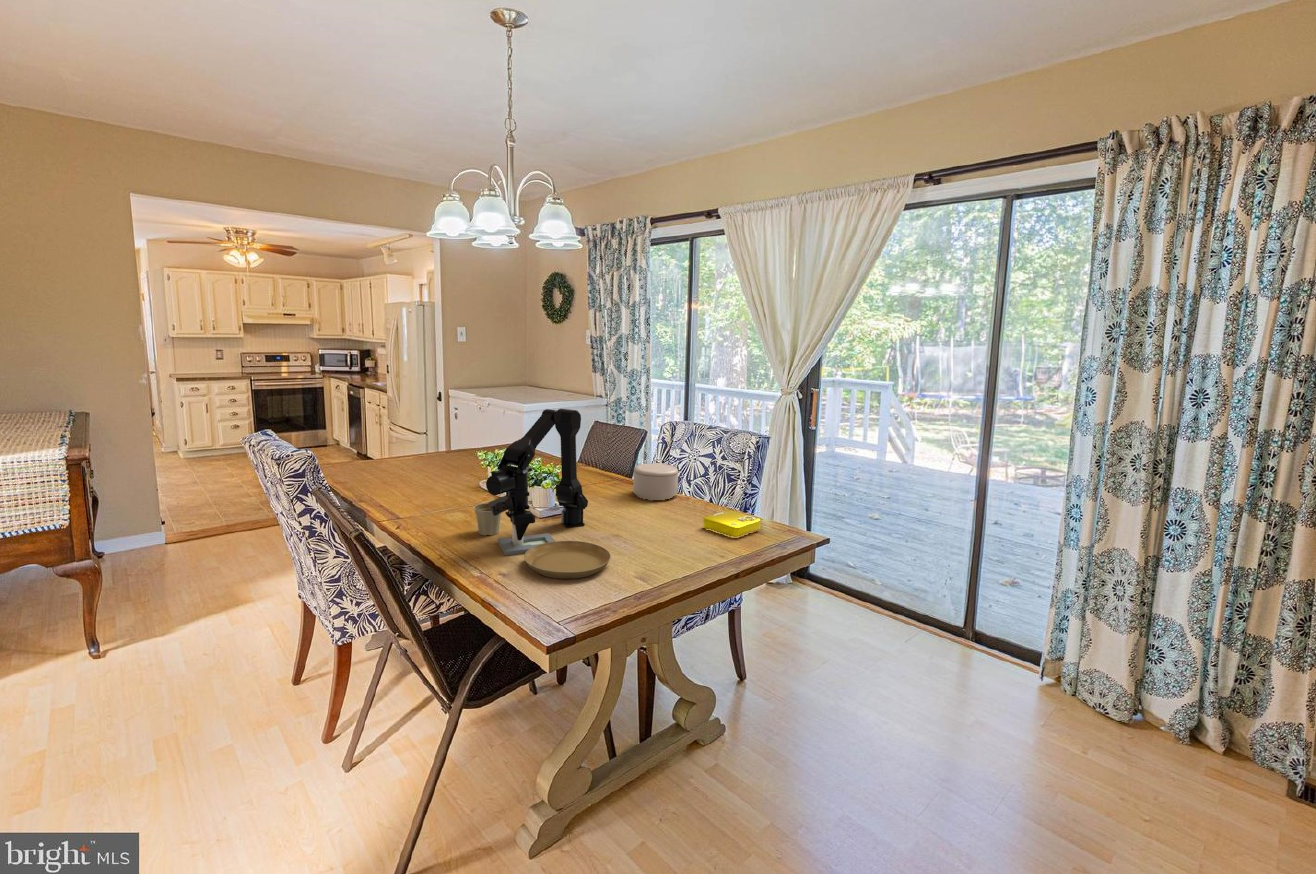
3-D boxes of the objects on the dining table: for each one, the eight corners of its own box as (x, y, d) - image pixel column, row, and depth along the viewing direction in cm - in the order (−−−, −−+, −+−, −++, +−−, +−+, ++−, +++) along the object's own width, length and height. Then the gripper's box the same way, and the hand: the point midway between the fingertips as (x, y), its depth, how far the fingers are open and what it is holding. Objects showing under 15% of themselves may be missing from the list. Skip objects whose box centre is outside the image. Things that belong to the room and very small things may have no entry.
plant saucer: (620, 556, 184) (621, 545, 183) (594, 588, 161) (594, 576, 160) (544, 547, 189) (544, 536, 188) (509, 577, 166) (508, 565, 165)
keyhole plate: (548, 536, 197) (548, 533, 197) (559, 549, 187) (559, 545, 186) (497, 542, 191) (497, 538, 191) (505, 555, 180) (505, 551, 180)
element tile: (727, 520, 222) (728, 507, 221) (762, 531, 212) (763, 517, 211) (700, 529, 212) (701, 515, 211) (735, 540, 201) (736, 526, 201)
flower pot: (495, 538, 194) (495, 512, 192) (468, 535, 196) (467, 509, 194) (508, 529, 203) (508, 504, 201) (482, 526, 205) (482, 501, 203)
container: (637, 502, 240) (637, 472, 238) (629, 490, 257) (630, 462, 255) (682, 501, 244) (683, 472, 242) (671, 489, 261) (673, 462, 259)
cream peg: (522, 543, 190) (522, 516, 188) (524, 547, 187) (524, 519, 185) (511, 545, 188) (511, 517, 187) (513, 548, 185) (513, 520, 184)
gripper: (485, 482, 189) (485, 531, 192) (496, 498, 173) (496, 551, 175) (521, 480, 194) (521, 527, 197) (535, 495, 177) (535, 547, 180)
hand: (518, 538), depth 187 cm, fingers closed on cream peg, 3 cm apart
